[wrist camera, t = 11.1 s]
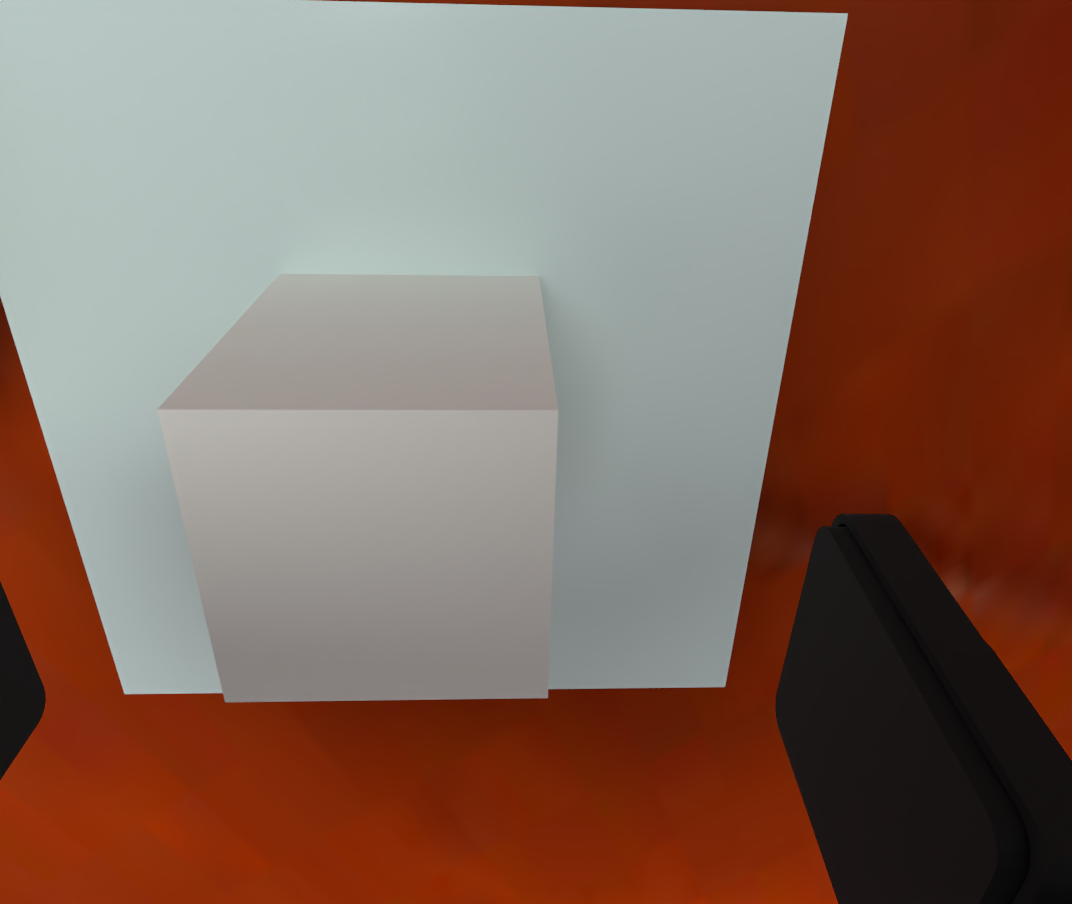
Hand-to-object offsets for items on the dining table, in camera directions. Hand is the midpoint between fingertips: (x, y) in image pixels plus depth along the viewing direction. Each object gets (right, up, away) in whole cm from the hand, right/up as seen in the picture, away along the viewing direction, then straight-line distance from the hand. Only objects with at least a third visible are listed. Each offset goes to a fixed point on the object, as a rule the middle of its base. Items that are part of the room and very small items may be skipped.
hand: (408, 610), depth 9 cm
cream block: (-1, +3, +6) cm, 6 cm away
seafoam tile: (-1, +3, +7) cm, 7 cm away
